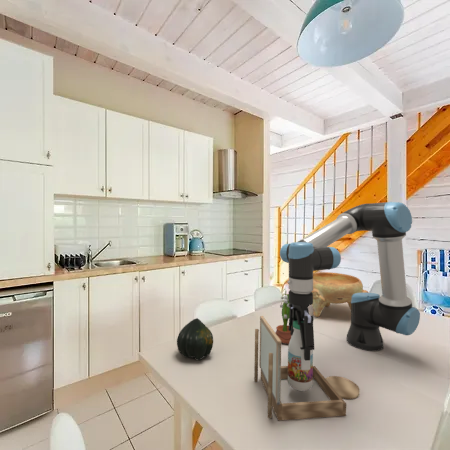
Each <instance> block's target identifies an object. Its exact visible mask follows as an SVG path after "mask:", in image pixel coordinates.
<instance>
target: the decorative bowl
mask: <svg viewBox="0 0 450 450" xmlns="http://www.w3.org/2000/svg"><path fill="white" fill-rule="evenodd" d="M363 288H364V286H363V282H362V280H361V279H360V278H359V277H357V276H355V275H354V276H353V275H350V274H345V273H340V272H325V271H323V272H322V271H321V272H313V291H312V293H313V304H312V305H311V307H312V310H313V311H312V314H313V315H312V316H313V317H315V318H318V317H320V316H321V314H322V312H323V310H324V309H325V308H329V307H330V306H331V304H334V305H336V304H338V305H341V304H347V305H348V307H349V309H350V310H351V299H352V295H353V294H355V293H370V292H369V291H368V290H366V289H363Z"/></svg>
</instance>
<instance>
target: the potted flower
mask: <svg viewBox="0 0 450 450" xmlns="http://www.w3.org/2000/svg"><path fill="white" fill-rule="evenodd" d="M284 291H285V293H284ZM281 295H282V296H281V297H280V300H283V302H281V304H280V305H279V308H281V316H282V323H283V324H280V325H277V326H276V328H275V329H276V331H274V332H275V333H276V335H277V336H278V337H279V339H280V340H281V344H285V345H289V342H290V339H291V336H292V335H291V334H290V331H289V330H288V329H289V324H288V323H289V312H290V307H289V293H287V290H286V288H284V289H283V290H282V294H281Z"/></svg>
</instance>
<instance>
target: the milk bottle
mask: <svg viewBox="0 0 450 450" xmlns="http://www.w3.org/2000/svg"><path fill="white" fill-rule="evenodd" d="M293 329H294V332H293V335H292V337H291V339H290V342H289V344H288V348H287V366H288V379H287V383H288V385H289V386H290V387H291V388H292V389H293V390H296V391H301V392H306V391H307V392H308V391H310V390H312V387H313V383H314V378H313V366H314V352H313V351H314V350H311V354H310V370H301V349H300V347H302V340H301V333H300V326H299V325H298V322H297V320H295V321H294V322H293Z"/></svg>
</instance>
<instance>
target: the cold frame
mask: <svg viewBox="0 0 450 450" xmlns="http://www.w3.org/2000/svg"><path fill="white" fill-rule="evenodd" d="M325 378H326V377H325V376H324V375H323V374H322V373H321V372H320V371H319V369H318V368H317V367H316V366H315V365H313V380H314V381H315V382H316V384H317V385H319V387H320V388H321V389H322V391H323V392H324V394H325V395H326V396H327V398H329V399H328V400H313V401H300V402H299V401H298V402H297V401H296V402H285V403H282V400H280V405H277V404H276V401H275V399H274V396H273V394H272V410H273V411H274V414H275V416H276V419H277V420H278V421H289V420H302V419H303V420H304V419H320V418H329V417H330V418H331V417H344V416H345V417H346V416H347V402H345V399H342V398H341V397H340V395H339V394H338V393H337V392H336V391H335V389H334V388H333V387H332V386H331V385H330V384H329V382H328V381H327V380H326V379H325ZM260 380H261V383H262V385H263V387H264V388H263V389H264V390H265V392H266V395H267V396H268V383H267V381H266V379H265V377H264V374H263V372H262V370H261V369H260ZM281 380H288V365H281Z"/></svg>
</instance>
